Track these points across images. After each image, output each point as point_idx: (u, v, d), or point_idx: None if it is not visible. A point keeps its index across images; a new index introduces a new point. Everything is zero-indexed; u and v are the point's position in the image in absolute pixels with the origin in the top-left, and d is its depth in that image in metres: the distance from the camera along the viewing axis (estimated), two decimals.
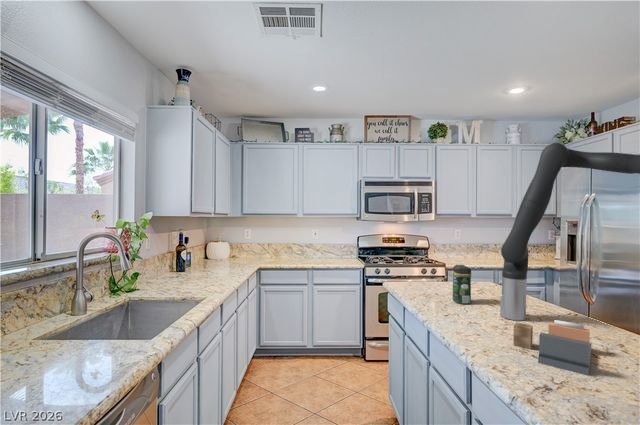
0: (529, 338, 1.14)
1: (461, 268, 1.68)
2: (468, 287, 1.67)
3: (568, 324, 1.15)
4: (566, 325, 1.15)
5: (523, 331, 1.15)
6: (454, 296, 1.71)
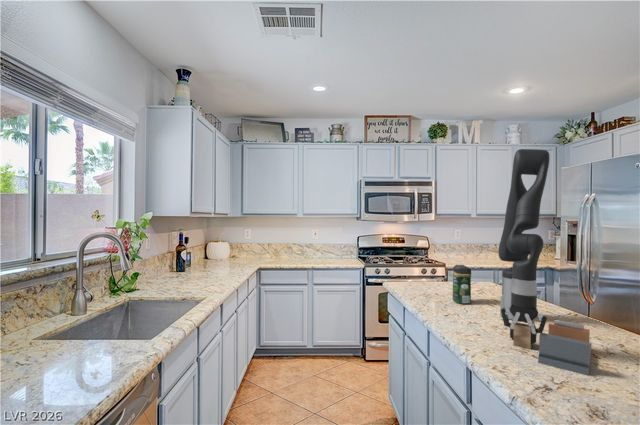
0: (529, 338, 1.14)
1: (461, 268, 1.68)
2: (468, 287, 1.67)
3: (568, 324, 1.15)
4: (566, 325, 1.15)
5: (523, 331, 1.15)
6: (454, 296, 1.71)
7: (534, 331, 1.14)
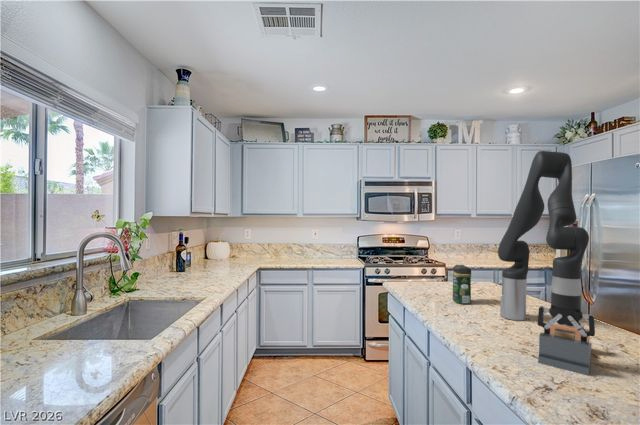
0: None
1: (461, 268, 1.68)
2: (468, 287, 1.67)
3: None
4: (566, 325, 1.15)
5: None
6: (454, 296, 1.71)
7: (585, 334, 1.01)
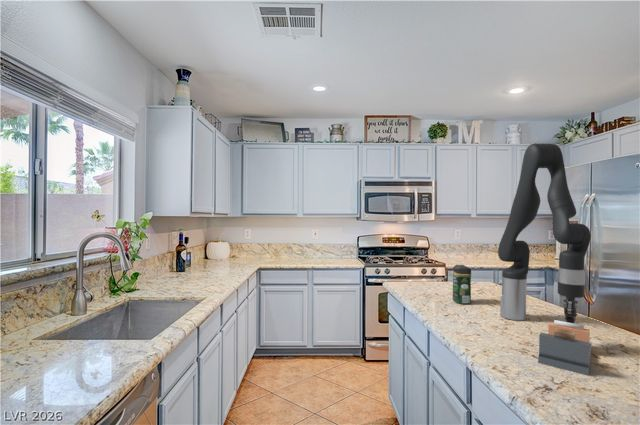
0: None
1: (461, 268, 1.68)
2: (468, 287, 1.67)
3: (568, 324, 1.14)
4: (566, 325, 1.15)
5: None
6: (454, 296, 1.71)
7: None
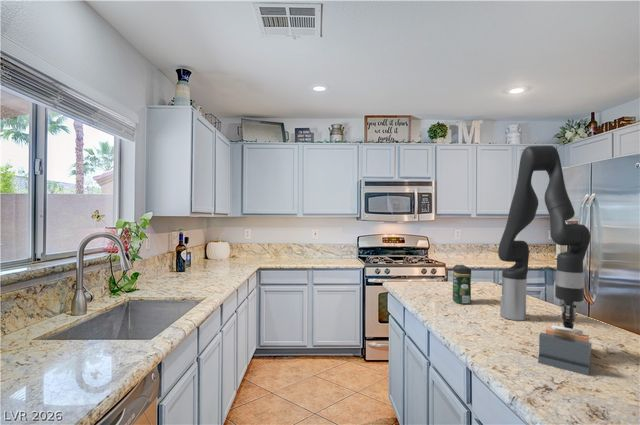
0: None
1: (461, 268, 1.68)
2: (468, 287, 1.67)
3: None
4: None
5: None
6: (454, 296, 1.71)
7: (573, 323, 1.12)
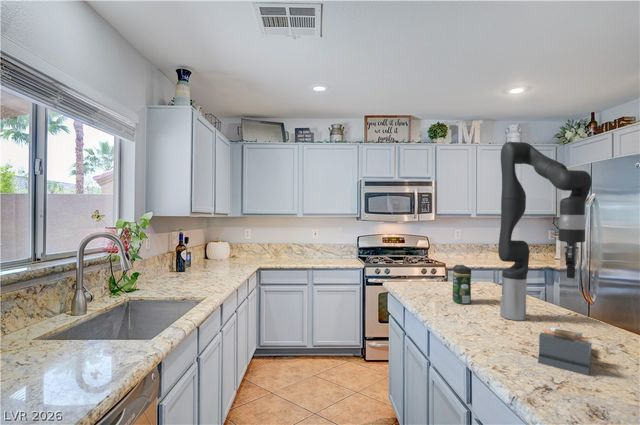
0: None
1: (461, 268, 1.68)
2: (468, 287, 1.67)
3: None
4: None
5: None
6: (454, 296, 1.71)
7: None
